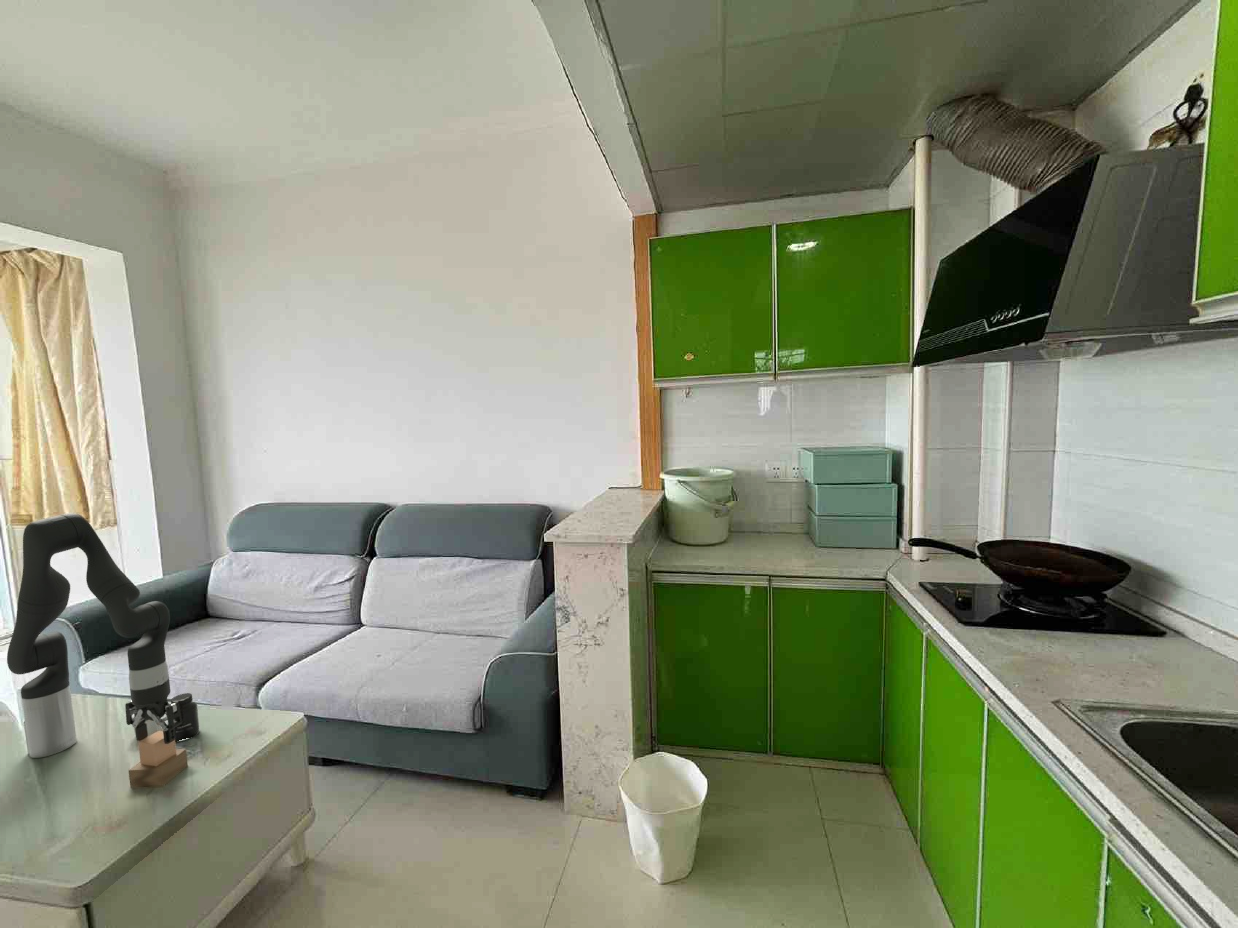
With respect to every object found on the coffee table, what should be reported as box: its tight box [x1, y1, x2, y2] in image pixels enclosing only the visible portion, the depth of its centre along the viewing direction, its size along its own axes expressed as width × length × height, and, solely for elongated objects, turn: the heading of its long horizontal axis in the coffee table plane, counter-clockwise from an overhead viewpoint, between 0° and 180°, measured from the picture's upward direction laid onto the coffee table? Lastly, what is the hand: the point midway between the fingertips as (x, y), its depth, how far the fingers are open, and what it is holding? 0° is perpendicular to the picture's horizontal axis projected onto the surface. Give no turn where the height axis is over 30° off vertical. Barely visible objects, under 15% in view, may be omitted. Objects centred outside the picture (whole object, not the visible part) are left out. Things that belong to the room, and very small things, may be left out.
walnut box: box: [128, 748, 189, 789], centre depth 136 cm, size 8×8×5 cm
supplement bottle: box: [170, 692, 200, 743], centre depth 153 cm, size 7×7×12 cm
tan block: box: [137, 730, 177, 766], centre depth 136 cm, size 5×5×6 cm
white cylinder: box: [132, 714, 162, 737], centre depth 156 cm, size 7×7×7 cm
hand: (156, 740), depth 136 cm, fingers open, 8 cm apart
